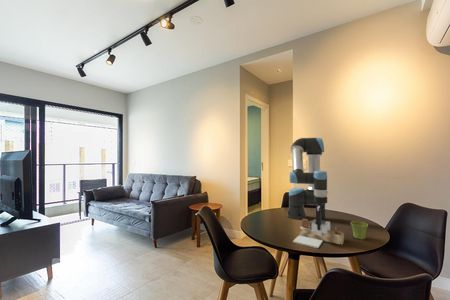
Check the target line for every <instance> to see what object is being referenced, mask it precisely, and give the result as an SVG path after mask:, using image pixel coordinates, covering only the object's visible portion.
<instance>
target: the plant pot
mask: <svg viewBox="0 0 450 300" xmlns="http://www.w3.org/2000/svg"><path fill="white" fill-rule="evenodd" d="M350 225H351V228H352V233H353V238H355V239H359V240H365V239H366V236H367V229H368V227H369V224H368V223H366V222H363V221H350Z"/></svg>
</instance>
